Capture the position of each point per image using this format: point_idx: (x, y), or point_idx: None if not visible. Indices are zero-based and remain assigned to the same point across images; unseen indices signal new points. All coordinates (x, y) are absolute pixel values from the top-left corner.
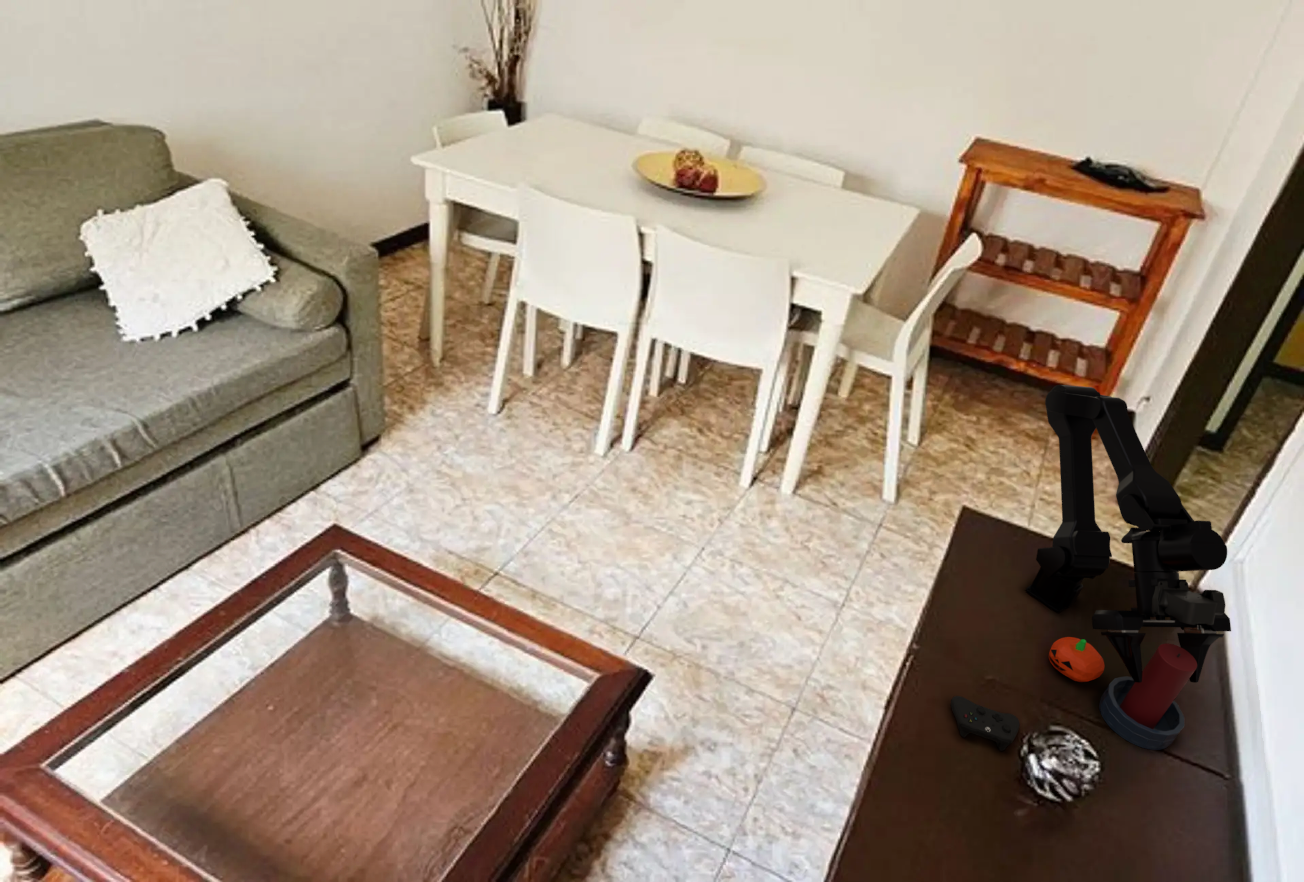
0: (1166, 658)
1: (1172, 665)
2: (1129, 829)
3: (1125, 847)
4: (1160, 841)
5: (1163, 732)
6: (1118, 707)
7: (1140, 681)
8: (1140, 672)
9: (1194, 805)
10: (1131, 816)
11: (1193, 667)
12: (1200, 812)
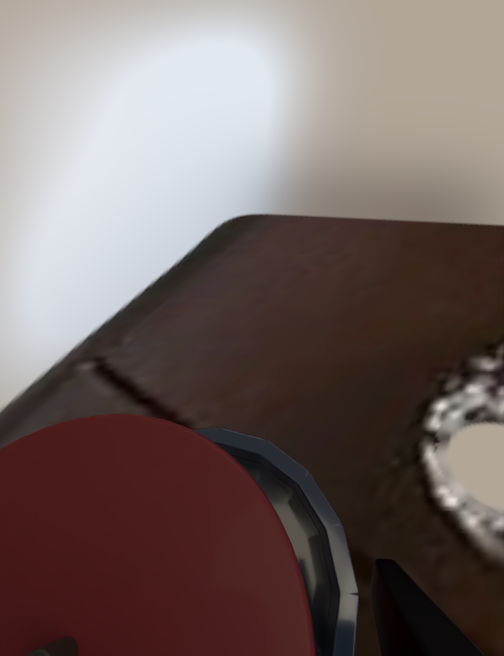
0: (262, 631)
1: (257, 499)
2: (419, 277)
3: (443, 252)
4: (365, 256)
5: (227, 438)
6: (345, 573)
7: (389, 561)
8: (418, 612)
9: (237, 309)
10: (402, 298)
11: (30, 454)
12: (236, 296)
